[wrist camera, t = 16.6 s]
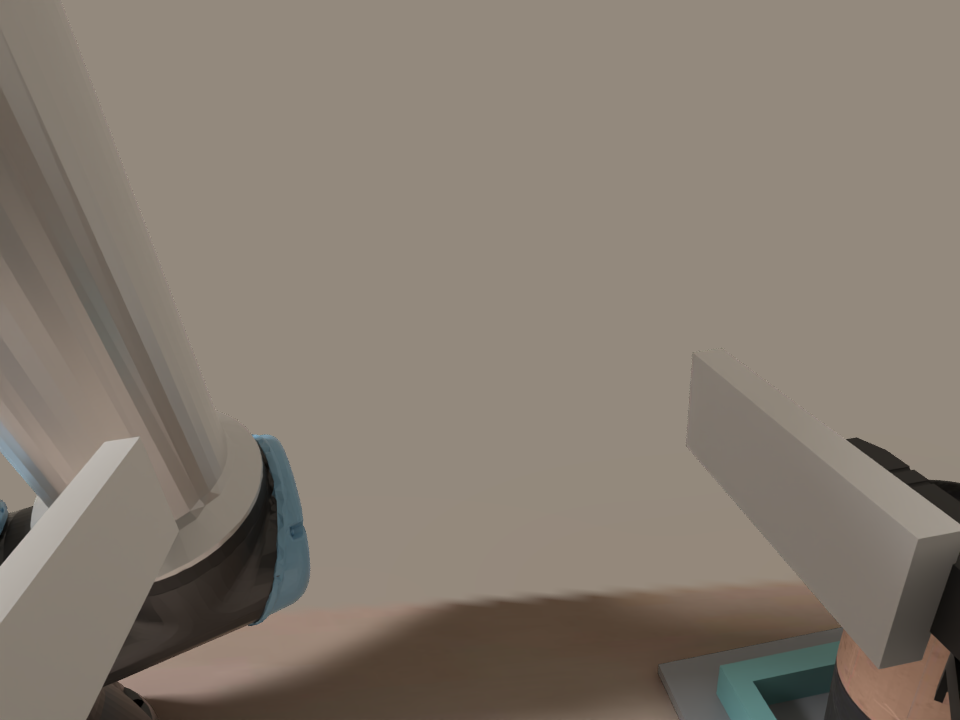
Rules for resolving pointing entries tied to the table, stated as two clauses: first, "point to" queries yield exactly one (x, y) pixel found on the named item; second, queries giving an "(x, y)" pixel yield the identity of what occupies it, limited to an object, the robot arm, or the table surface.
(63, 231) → the robot arm
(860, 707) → the travel mug
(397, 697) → the table surface
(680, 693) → the mug dock
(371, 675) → the table surface
